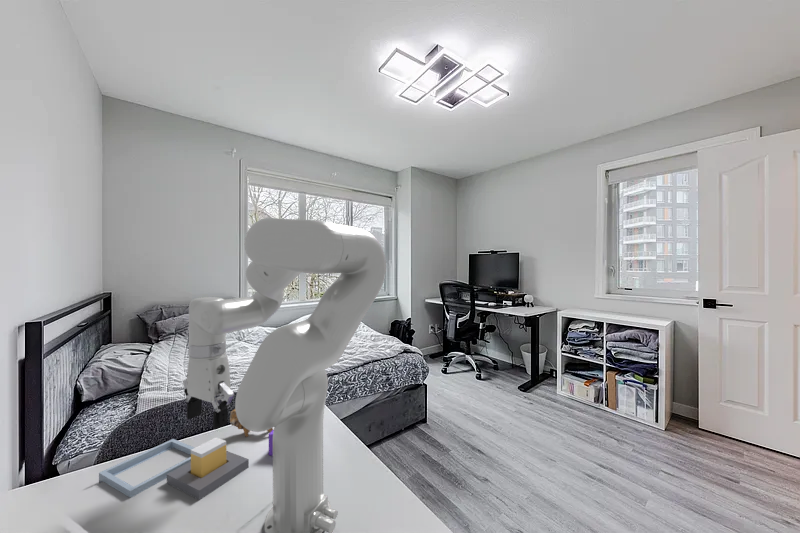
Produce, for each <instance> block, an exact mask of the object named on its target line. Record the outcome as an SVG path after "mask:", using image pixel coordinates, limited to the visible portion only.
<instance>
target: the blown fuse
mask: <svg viewBox="0 0 800 533" xmlns="http://www.w3.org/2000/svg"><path fill="white" fill-rule="evenodd" d="M226 451H227V440H225V439H222V438H219V437H213V438H212V439H210V440H208V441H205V442H203V443H201V444H200V445H198V446H196V447H195V448H194V449H192V450H191V455H190V457H191V474H192V475H194V476H197V477H199V478H203V477H204V476H206V475H208V474H209V473H211V472H212V471H214V470H216V469H217V468H219V467H221V466H222V465H224V464H226Z"/></svg>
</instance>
